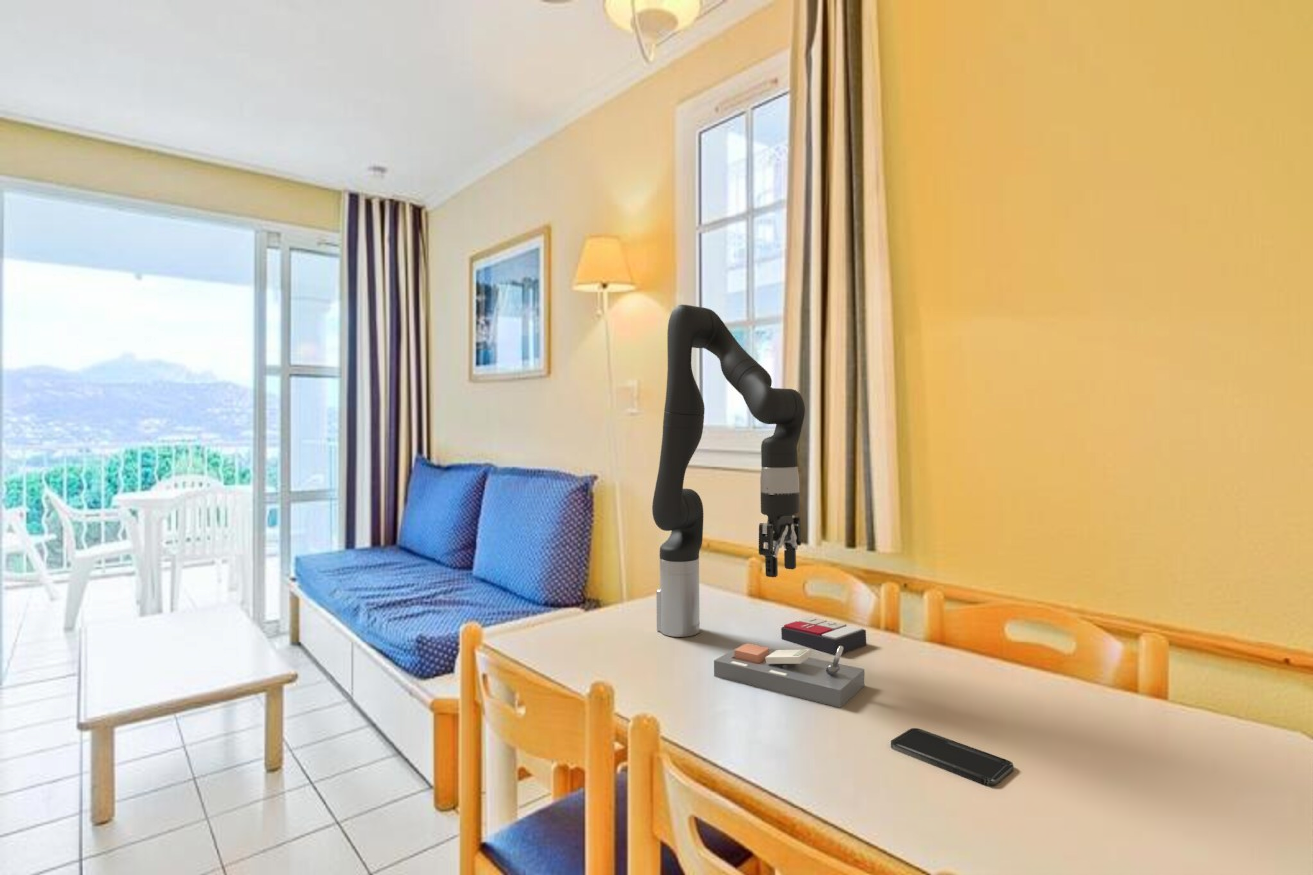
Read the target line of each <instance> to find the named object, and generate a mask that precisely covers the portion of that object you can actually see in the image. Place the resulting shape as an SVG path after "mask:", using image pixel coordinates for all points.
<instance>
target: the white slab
mask: <svg viewBox="0 0 1313 875" xmlns="http://www.w3.org/2000/svg"><path fill="white" fill-rule="evenodd" d="M809 657H810V658H812V651H811V648H810V649H809V648H807V649H806V648H805V649H776V651H775V652H773V653H771V654H770V655H768V656H767V657H765V659H766V664H801V663H802V662H803V661H805V660H806V659H808V658H809Z"/></svg>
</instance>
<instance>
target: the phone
mask: <svg viewBox="0 0 1313 875" xmlns="http://www.w3.org/2000/svg"><path fill="white" fill-rule="evenodd" d="M890 748H891V749H892V750H893V751H895V752H898V753H901V754H903V755H906V756H907V757H911V758H913V759H916V760H919V761H921V762H923V763H925V764H929V765H931V766H933V767H937V768H938V769H941V770H944V771H946V772H948V773H951V774H954V775H956V776H959V777H961V778H964V779H967V780H970V781H972V782H974V783H976V784H980V785H982V786H985V787H990V788H991V787H992V788H993V787H996V786H998V785H999V784H1000V783H1001V782H1002V781H1004V779H1005V778H1007V777H1008V776H1009V775H1010V774H1012V773H1013V771H1014V763H1013V762H1012V761H1011V760H1008V759H1006V758H1003V757H1000V756H997V755H994V754H992V753H989V752H986V751H983V750H981V749H977V748H975V747H972V746H969V745H967V744H964V743H961V742H958V741H956V740H952V739H950V738H947V737H944V736H941V735H938V734H935V733H934V732H933V733H932V732H930V731H927V730H924V729H921V728H917V727H912V728H909V729H907V730H905V732H903V733H901V734H900V735H898V736H896V737H894V738H893V739H891V740H890Z"/></svg>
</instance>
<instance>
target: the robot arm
mask: <svg viewBox="0 0 1313 875" xmlns="http://www.w3.org/2000/svg"><path fill="white" fill-rule="evenodd" d="M667 324H668V325H667V340H666V341H667V374H666V375H667V376H666V377H667V378H666V389H665V390H666V391H665V401H664V402H665V403H664V409H663V410H664V411H663V421H662V438H661V446H660V457H659V466H658V472H657V476H656V481H655V482H656V483H655V488H654V491H653V492H654V493H653V499H652V508H651V509H652V510H651V511H652V518H653V521H654V523H655V524H656V526H657V527H658V528H659V529H660V530H662V531H664V532H665V531H666V532H670V531H671V533H670V535H669V537H668V538H667V539H666V540H665V541H664V542H663V543H662V544H661V545H660V548H659V589H657V590H656V597H655V598H656V631H657V632H660V633H661V634H662V635H664V636H669V637H674V638H675V637H677V638H679V637H680V638H685V637H691V636H695V635H697V634H699V633H700V624H701V622H700V551H701V548H702V545H703V536H704V535H703V534H704V533H703V532H704V505H703V501H702V499H701V497H700V495H699V494H698V492H697V491H695V490H694V489H691V488H684V482H685V481H684V479H685V474H686V472H687V467H688V465H689V464H690V461H691V460H692V458H693V455H695V453H696V450H697V448H698V446H699V444H700V442H701V440H702V436H703V430H704V424H705V422H704V421H705V409H706V408H705V403H704V399H703V397H702V394H701V390H700V389H699V386H698V384H697V381H696V379H695V377H694V373H693V367H692V355H693V351H692V350H693V348H694V349H704V350H707V351H708V352H710V353H711V354H713V355H714V356H716V358H717V359H718V360H719V361H720V362H719V363H720V369H721V371H722V374H723V376H724V378H725V379H726V380H727V382H728V383H729V384H730V385H731V386H732V388H734V389H735V390H736V392H738V393H739V394H740V395H741V396H742V398H743V399H744V402H745V404H746V406H747V408H748V410H749V412H750V413H751V415H752V416H753V418H755V420H757V421H759V422H760V423H762V424H765V425H775V428H774V432H773V435H771V436H769V437H765V438H764V439H763V440H762V441H761V444H760V447H761V448H760V455H761V456H760V459H761V461H760V462H761V465H760V466H761V469H760V470H761V471H760V478H759V482H760V483H759V484H760V513H761V514H762V515H764V516H766V517H767V522H763V523H762V522H761V523H759V524H758V555H760V556H763V557H764V558H765V560H764V561H765V576H766V577H767V578H768V577H769V578H777V577H778V575H779V574H778V566H779V565H778V554H779V550H780V549H781V548H782V547H783V549H784V551H783V556H784V557H783V558H784V560H783V562H784V566H783V567H784V568H785V569H786V570H796V568H797V550H798V548H799V547H800V546H801V545H802V532H801V517H800V516H797V515H799V514H800V511H801V510H800V508H801V507H800V503H801V502H800V475H799V469H798V465H799V464H798V444H799V442H800V437H801V433H802V429H803V424H804V419H805V416H806V415H805V414H806V406H805V401H804V398H803V396H802V394H800V392H799V391H797V390H796V389H793V388H781V387H780V388H775V387H772V385H773V384H772V383H773V380H772V376H771V375H770V373H769V372H768V371H767V370H766V368H764V367H763V366H762V365H761V364H760V363H759V362H757V360H755V359H754V358H753V357H752V356H751V355H750V354H749V353H748V352H747V351H746V350H745V349H744V348H743V347H742V346H741V344H740V343H739V342H738V341H737V339H736V338H735V337H734V335H733V334H732V333H731V331H730V330H729V328H728V326H726V324H725V323H724V322H723V320H722V318H721V316H719V315H718V314H717V313H716V311H714V310H712V309H710V308H707V307H702V306H695V305H689V304H678V305H676V306H675V307H674V308H673V310H672V311H671V312H670V315H669V319H668V323H667ZM798 546H799V547H798Z"/></svg>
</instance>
